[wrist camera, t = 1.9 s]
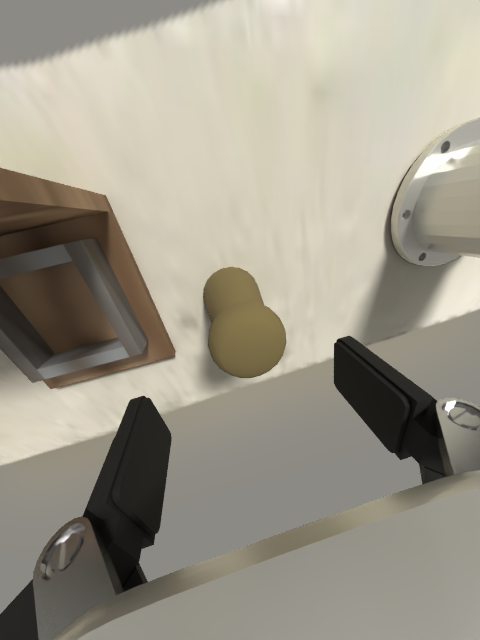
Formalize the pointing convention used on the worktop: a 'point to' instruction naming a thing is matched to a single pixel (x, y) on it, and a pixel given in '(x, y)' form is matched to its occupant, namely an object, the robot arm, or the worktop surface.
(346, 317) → the worktop surface
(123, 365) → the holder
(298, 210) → the worktop surface
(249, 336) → the cork
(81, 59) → the worktop surface
